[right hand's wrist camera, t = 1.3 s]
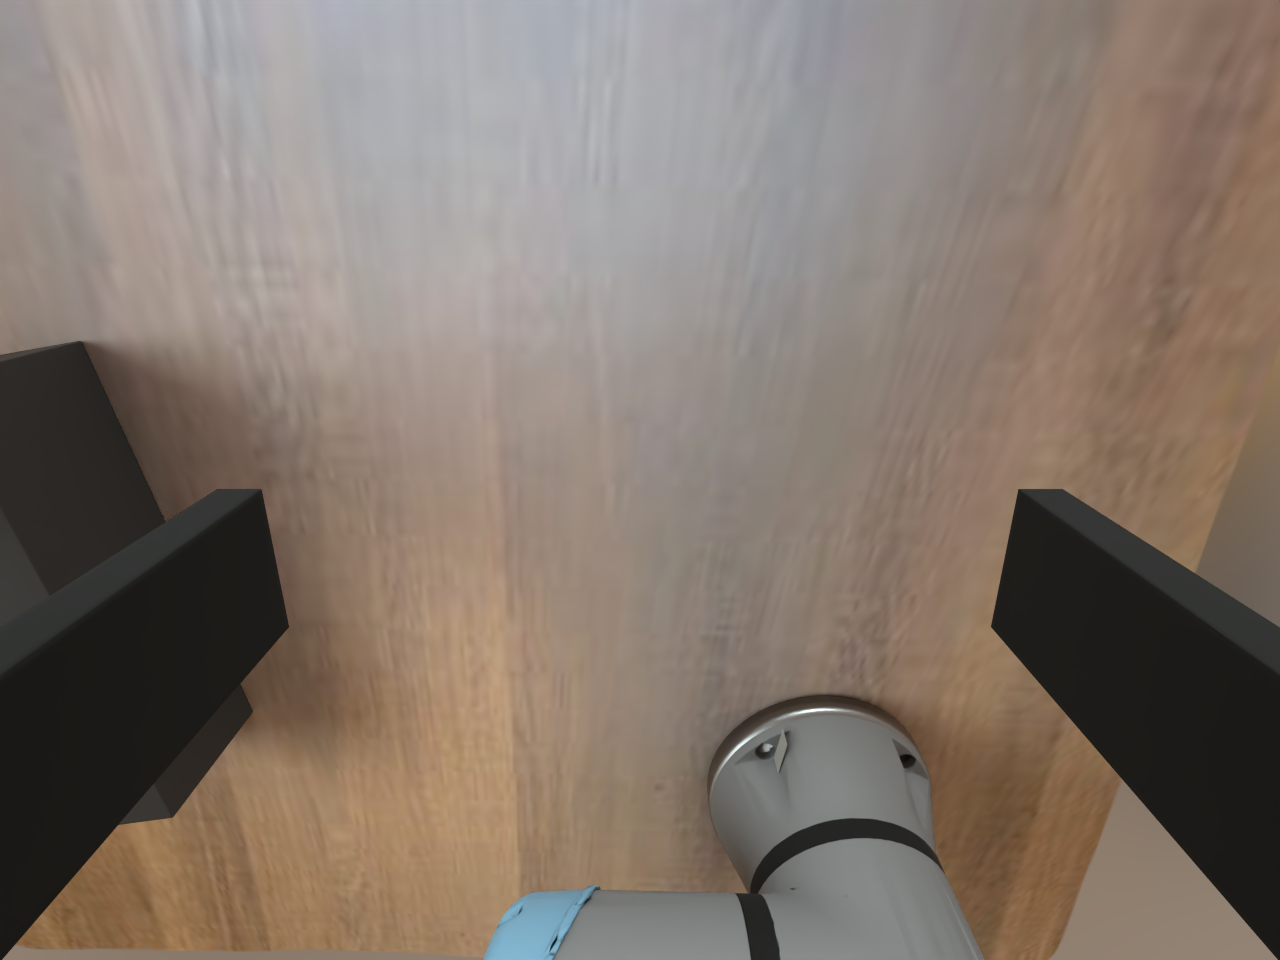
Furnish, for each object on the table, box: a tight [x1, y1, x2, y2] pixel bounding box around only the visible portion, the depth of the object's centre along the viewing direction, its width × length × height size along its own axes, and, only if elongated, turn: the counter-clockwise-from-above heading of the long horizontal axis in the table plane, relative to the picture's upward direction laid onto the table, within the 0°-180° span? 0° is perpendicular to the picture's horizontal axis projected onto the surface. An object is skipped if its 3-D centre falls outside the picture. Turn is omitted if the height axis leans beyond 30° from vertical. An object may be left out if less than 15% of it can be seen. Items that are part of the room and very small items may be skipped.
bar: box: [0, 341, 253, 825], centre depth 40 cm, size 26×6×9 cm, turn 10°
